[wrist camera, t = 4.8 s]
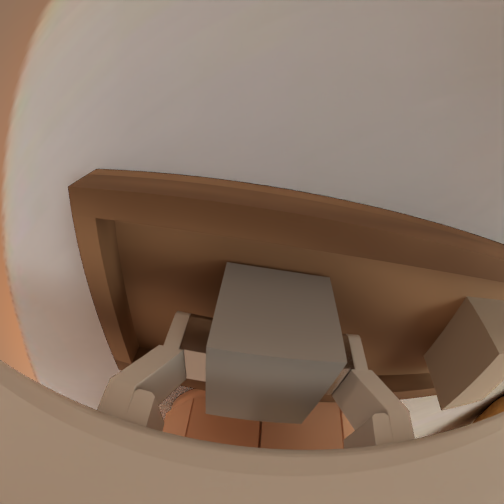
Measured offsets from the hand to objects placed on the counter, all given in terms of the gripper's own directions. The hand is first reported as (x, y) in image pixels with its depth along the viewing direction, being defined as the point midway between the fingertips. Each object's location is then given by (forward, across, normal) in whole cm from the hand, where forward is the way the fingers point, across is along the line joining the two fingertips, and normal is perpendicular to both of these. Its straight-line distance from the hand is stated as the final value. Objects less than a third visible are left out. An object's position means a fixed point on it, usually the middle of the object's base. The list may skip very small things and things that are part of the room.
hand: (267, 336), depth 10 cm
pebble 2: (+1, -11, 0) cm, 11 cm away
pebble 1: (+1, 0, 0) cm, 1 cm away
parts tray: (+2, -6, 0) cm, 6 cm away
